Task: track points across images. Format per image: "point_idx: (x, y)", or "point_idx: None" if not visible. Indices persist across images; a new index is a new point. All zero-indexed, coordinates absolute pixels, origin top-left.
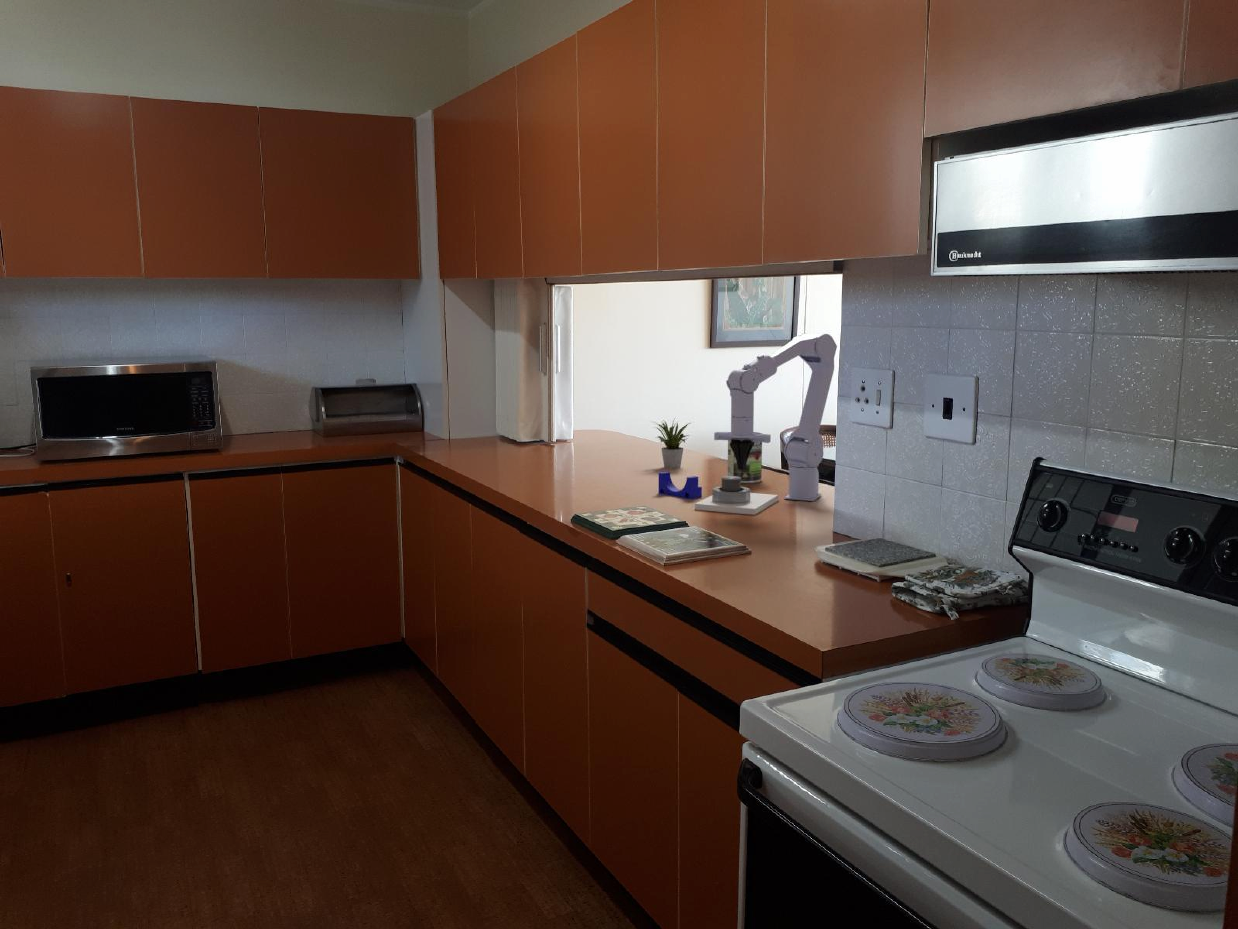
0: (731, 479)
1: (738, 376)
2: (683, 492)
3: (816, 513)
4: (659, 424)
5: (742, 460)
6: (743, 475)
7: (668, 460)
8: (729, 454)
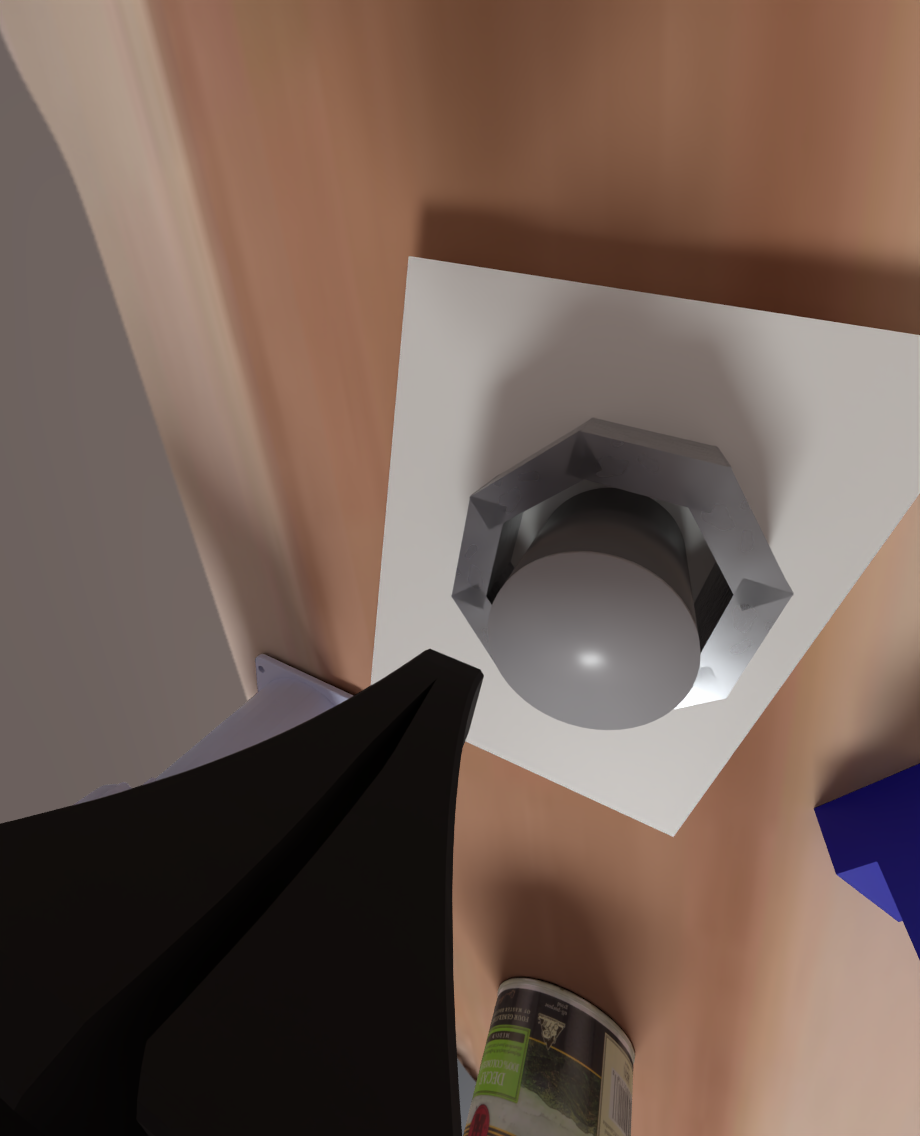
0: (578, 553)
1: None
2: None
3: (179, 412)
4: None
5: (365, 706)
6: (557, 1030)
7: None
8: None
